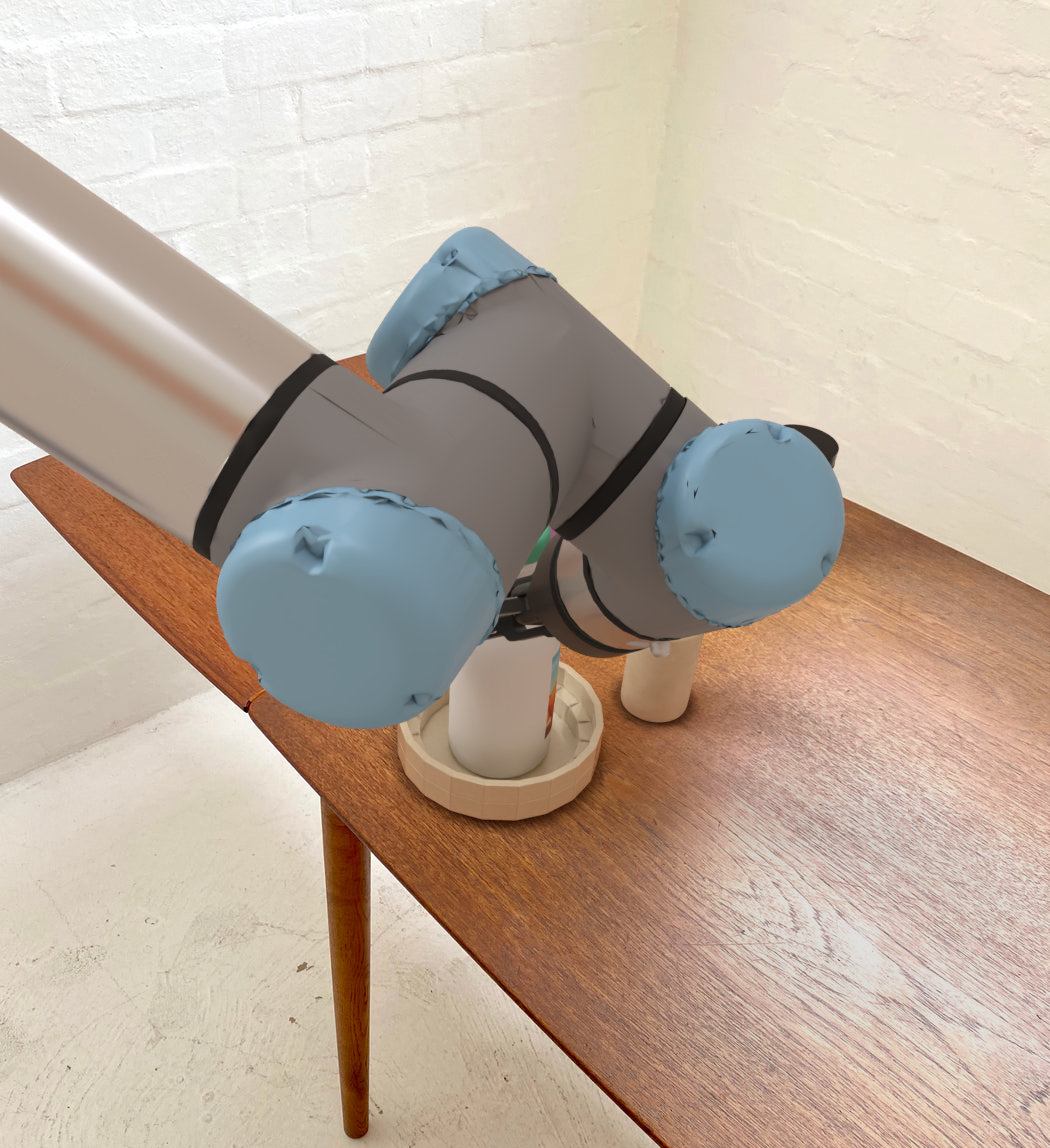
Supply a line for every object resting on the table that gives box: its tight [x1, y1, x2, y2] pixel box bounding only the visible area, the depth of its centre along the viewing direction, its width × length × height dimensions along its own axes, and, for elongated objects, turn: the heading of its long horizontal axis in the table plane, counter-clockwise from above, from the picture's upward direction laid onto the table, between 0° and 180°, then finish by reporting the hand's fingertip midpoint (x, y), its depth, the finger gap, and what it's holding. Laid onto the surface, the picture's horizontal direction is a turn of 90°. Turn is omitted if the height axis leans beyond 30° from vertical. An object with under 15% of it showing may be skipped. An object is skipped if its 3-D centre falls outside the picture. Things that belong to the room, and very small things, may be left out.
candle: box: [620, 633, 705, 723], centre depth 87 cm, size 6×6×10 cm
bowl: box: [396, 660, 605, 821], centre depth 84 cm, size 15×15×4 cm
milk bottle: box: [448, 526, 562, 778], centre depth 78 cm, size 8×8×20 cm
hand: (511, 628), depth 76 cm, fingers open, 13 cm apart
